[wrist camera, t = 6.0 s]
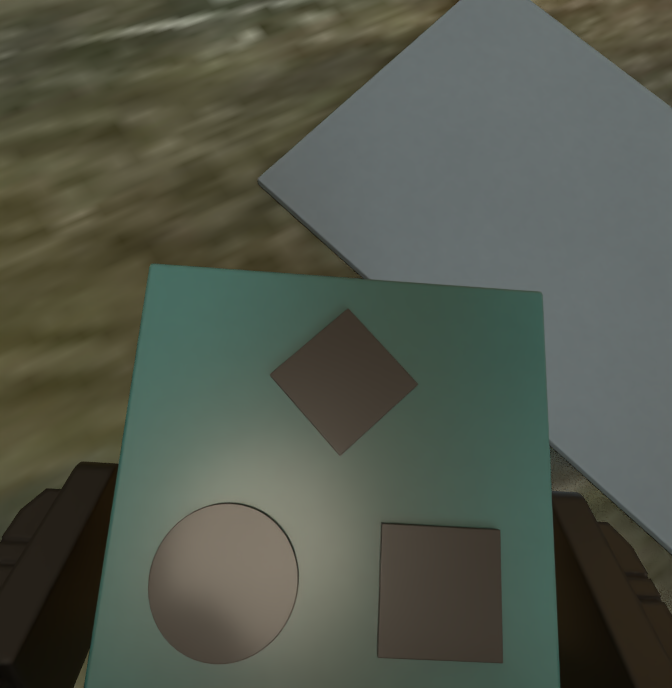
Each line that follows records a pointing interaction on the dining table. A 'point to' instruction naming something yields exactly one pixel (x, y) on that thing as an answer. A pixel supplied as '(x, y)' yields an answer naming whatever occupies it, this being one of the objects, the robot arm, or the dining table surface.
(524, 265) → the mat
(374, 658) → the shape sorter
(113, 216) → the dining table surface
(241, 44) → the dining table surface
